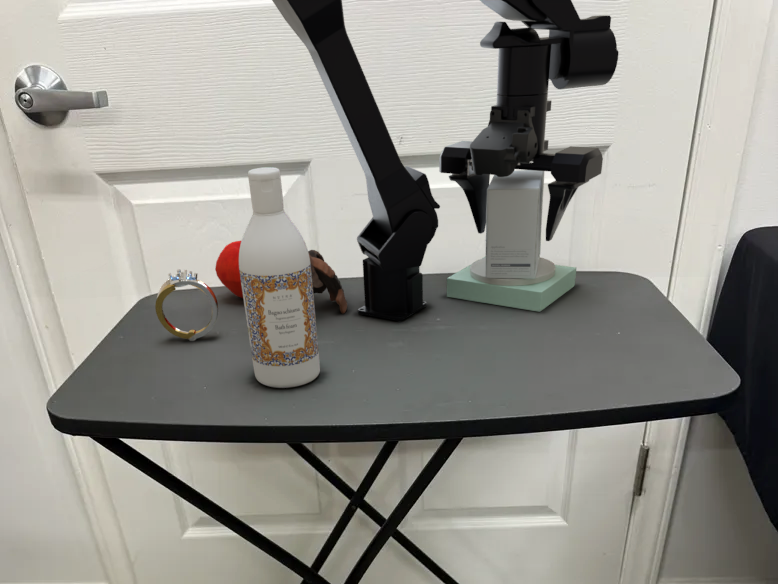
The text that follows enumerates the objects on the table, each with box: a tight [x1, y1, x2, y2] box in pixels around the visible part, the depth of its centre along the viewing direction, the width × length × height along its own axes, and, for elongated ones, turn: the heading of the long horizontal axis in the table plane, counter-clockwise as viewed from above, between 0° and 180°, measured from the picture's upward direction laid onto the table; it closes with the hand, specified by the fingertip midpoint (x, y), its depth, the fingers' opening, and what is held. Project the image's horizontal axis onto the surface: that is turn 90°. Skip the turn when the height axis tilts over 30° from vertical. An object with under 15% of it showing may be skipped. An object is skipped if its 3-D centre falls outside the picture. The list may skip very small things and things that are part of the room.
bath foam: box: [239, 166, 321, 389], centre depth 76 cm, size 7×7×20 cm
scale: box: [446, 255, 577, 312], centre depth 100 cm, size 13×11×3 cm
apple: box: [214, 240, 243, 299], centre depth 101 cm, size 8×8×7 cm
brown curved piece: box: [308, 249, 348, 314], centre depth 98 cm, size 12×10×8 cm
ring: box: [154, 268, 219, 342], centre depth 89 cm, size 7×3×8 cm, turn 92°
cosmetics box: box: [485, 169, 545, 279], centre depth 95 cm, size 10×6×10 cm, turn 167°
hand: (514, 236), depth 96 cm, fingers open, 9 cm apart
